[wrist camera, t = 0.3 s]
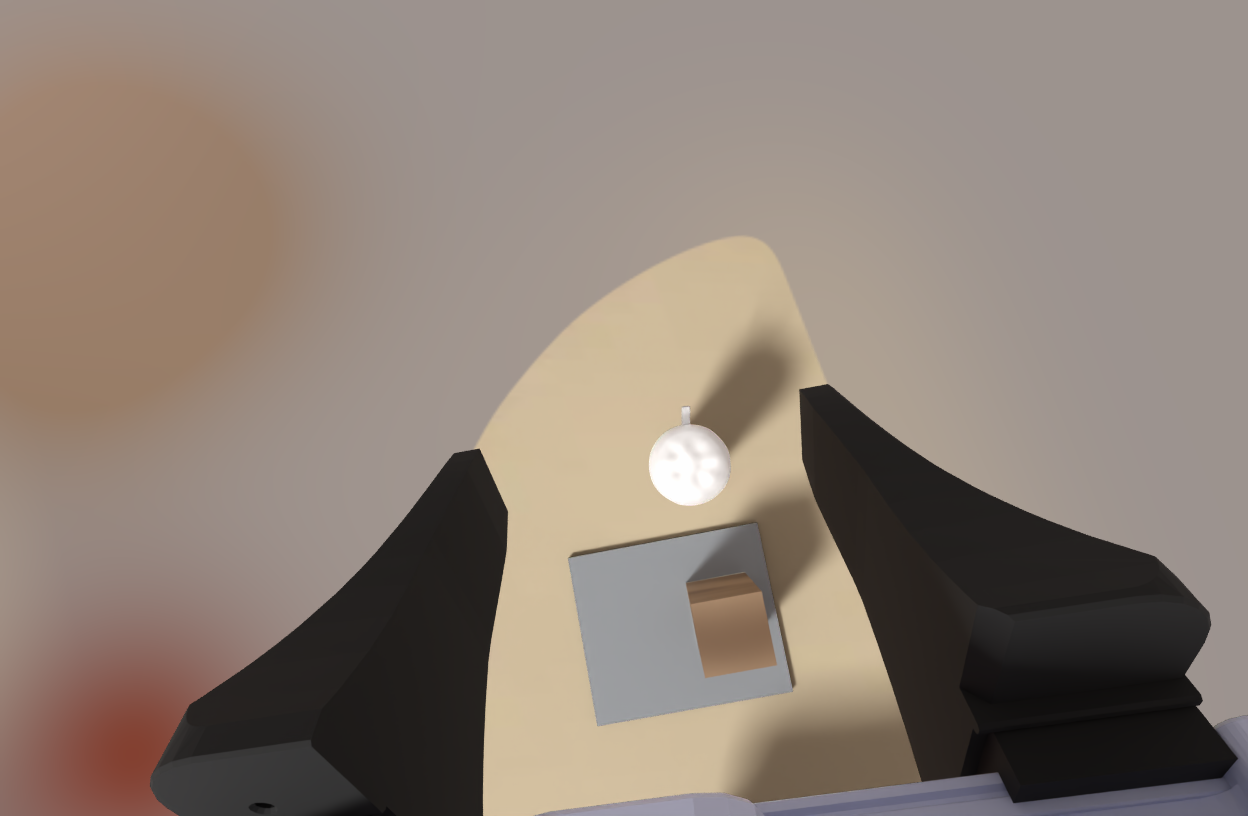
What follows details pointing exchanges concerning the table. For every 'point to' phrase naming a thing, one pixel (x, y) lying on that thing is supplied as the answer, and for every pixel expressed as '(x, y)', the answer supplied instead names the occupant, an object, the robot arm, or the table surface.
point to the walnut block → (730, 625)
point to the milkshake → (689, 463)
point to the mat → (665, 624)
